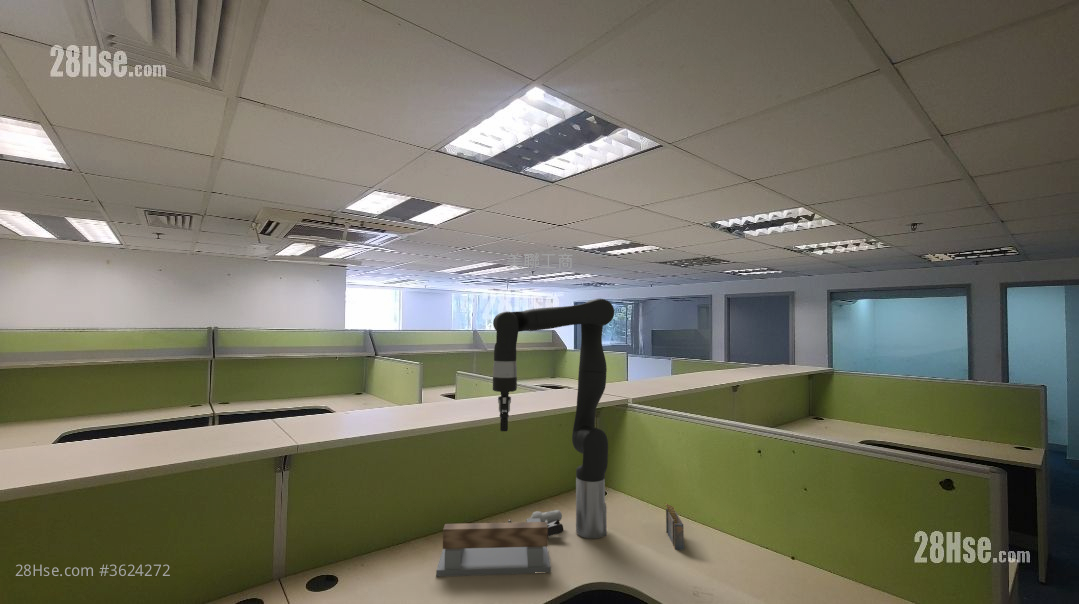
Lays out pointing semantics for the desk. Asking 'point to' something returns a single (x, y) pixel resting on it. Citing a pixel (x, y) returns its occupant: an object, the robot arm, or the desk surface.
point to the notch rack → (494, 560)
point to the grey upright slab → (674, 528)
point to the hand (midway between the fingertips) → (504, 428)
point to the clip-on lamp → (549, 521)
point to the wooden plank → (495, 535)
